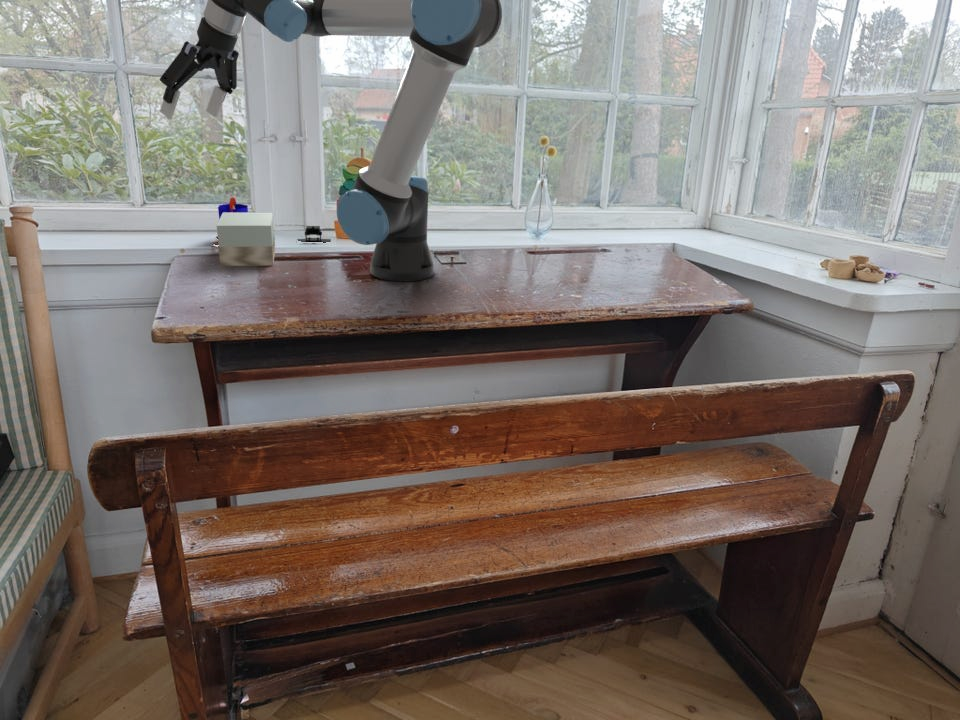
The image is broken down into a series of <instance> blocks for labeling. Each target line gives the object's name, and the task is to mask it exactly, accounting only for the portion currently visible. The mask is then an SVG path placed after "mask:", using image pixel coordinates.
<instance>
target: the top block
mask: <svg viewBox="0 0 960 720" xmlns="http://www.w3.org/2000/svg"><path fill="white" fill-rule="evenodd" d="M216 230H217V231H216V233H217V236H218V240H217V242H218V244H219V247H269V246H273V238H274V236H275V225H274V213H273V212H248V213H238V212H223V213H222V215H221V217H220V219H219V218H218V222H217V224H216Z"/></svg>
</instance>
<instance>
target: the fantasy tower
mask: <svg viewBox="0 0 960 720" xmlns="http://www.w3.org/2000/svg"><path fill="white" fill-rule="evenodd" d="M217 211H218V212H217V213H218V220H219V219H220V217H221V215H222V213H223V212H238V213H249V208H248V205H247V204H242V203H237V200H236V198H235V197H233V196H231V197H230V199H229V203H226V204H225V203H224V204H218V207H217ZM215 238H217V239H218V235H216V237H215ZM217 239H216V240H217ZM213 244H215V245H219V244H218V241H217V242H216V241H215V242H214V243H213Z"/></svg>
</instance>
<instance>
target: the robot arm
mask: <svg viewBox="0 0 960 720" xmlns="http://www.w3.org/2000/svg"><path fill="white" fill-rule="evenodd" d="M247 14H248V15H250V16H251V17H252V18H253V19H254V20H256V22H258V23H259V24H261V25H262V27H265V29H266V30H268V32H269V33H271V34H272V35H273V36H275V37H277V38H279V39H280V40H282V41H284V42H285V43H286V42H287V43H291V42H293V41H294V40H297V39H299V38H300V37H301V36H302V35H307V36H308V35H309V36H312V37H327V36H349V37H350V36H357V37H358V36H359V37H360V36H361V37H407V38H408V37H409V38H408V39H409V42H410V45H411V47H412V53H411V56H410V59H409V62H408V63H407V66H406V69H405V72H404V74H403V77H402V79H401V81H400V85H399V87H398V90H397V93H396V95H395V99H394V101H393V104H392V106H391V108H390V111H389V113H388V117H387V119H386V122H385V124H384V126H383V130H382V131H381V135H380V136H379V139H378V142H377V145H376V147H375V150H374V153H373V156H372V158H371V161H370V163H369V165H368V166H365V167H362V168H360V169H359V171H358V173H357V176H356V179H355V181H354V185H353V187H352V189H349V190H347V191H345V192H344V193H343V194H342V195H341V197H340V198H339V200H338V202H337V205H336V217H337V222H338V224H339V225H340V229H341V230H342V232H343V233H344V234H345V236H346V237H347V238H348V239H350V240H351V241H352V242H354V243H357V244H359V245H364V246H371V245H375V247H374V250H373V253H372V257H371V260H370V263H369V264H370V265H369V268H370V269H369V271H370V274H371V275H372V276H374V277H375V278H377V279H381V280H385V281H392V282H415V281H422V280H426V279H429V278H431V277H433V275H434V273H435V272H434V271H435V270H434V269H435V266H434V261H433V258H432V255H431V251H430V248H429V244H428V210H429V195H430V193H429V185H428V181H427V179H426V178H425V177H422V176H418V175H413V173H414V170H415V168H416V166H417V163H418V161H419V159H420V156H421V154H422V151H423V149H424V148H425V144H426V142H427V140H428V137H429V135H430V133H431V130H432V127H433V125H434V123H435V120H436V119H437V116H438V113H439V111H440V108H441V106H442V104H443V101H444V99H445V97H446V95H447V93H448V90H449V87H450V85H451V82H452V80H453V77H454V76H455V73H456V72H457V71H461V69H464V68H467V65H468V63H469V61H470V59H471V57H472V54H473V51H474V49H475V48H480V47H483V46H485V45H487V43H490V42H491V41H492V40H493V39H494V38H495V36H496V35H497V33H498V32H499V30H500V27H501V24H502V21H503V20H502V19H503V18H502V17H503V9H502V4H501V1H500V0H207V3H206V5H205V9H204V11H203V17H201V18H200V21H199V24H198V28H197V31H196V35H197V38H198V41H197V43H196V44H192V43H191V42H189V41H188V40H186V41H185V42H183V46H182V48H181V49H180V52H179V53H178V54H177V56H176V57H175V58H174V60H173V61H172V62H170V65H169V66H168V67H167V69H166V70H165V71H164V73H162V75H161V76H160V78H159V81H160V82H161V83H162V84H163V85H164V86H165V90H164V93H163V96H162V99H163V101H162V104H161V106H160V110H159V112H160V113H162V115H164V116H165V117H166V118H167V119H169V120H172V119H173V116H174V114H175V111H176V108H177V104H178V101H179V99H180V96H181V91H180V89H181V88H182V87H183V86H184V85H186V84H187V82H189V80H191V79H192V78H193V77H194V76H195V75H196V74H197V73H198V72H203V71H204V70H205V69H207V70H209V69H212V70H214V74H215V77H216V81H217V84H218V85H214V88H213V91H212V93H211V96H210V98H209V101H208V104H207V107H206V110H205V111H206V112H207V113H209V115H211V116H212V117H213V118H214V119H215V118H216V119H217V118H218V115H219V113H220V110H221V107H222V105H223V103H224V101H225V99H226V97H227V93H228V95H231V94H233V91H234V90H236V89H237V86H238V85H237V84H238V80H237V79H238V76H237V74H238V72H237V71H238V70H237V67H238V66H237V65H238V64H237V63H238V57H239V54H240V53H239V52H238V51H237V50H236V49H235V46H236V44H237V41H238V40H239V39H238V38H239V36H238V34H240V33H241V32H242V29H243V25H244V22H245V20H246V17H247Z"/></svg>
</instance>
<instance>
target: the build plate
mask: <svg viewBox="0 0 960 720" xmlns="http://www.w3.org/2000/svg"><path fill="white" fill-rule="evenodd" d="M313 235H314V236H319V237H310V236H313ZM322 235H323V231H322V229H321V226H320V225H306V227H305V231H304V236H305V238H297V239H296V241H297V240H298V241H301V242H323V243H326V242H331V243H332V239H330V238H322Z"/></svg>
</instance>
